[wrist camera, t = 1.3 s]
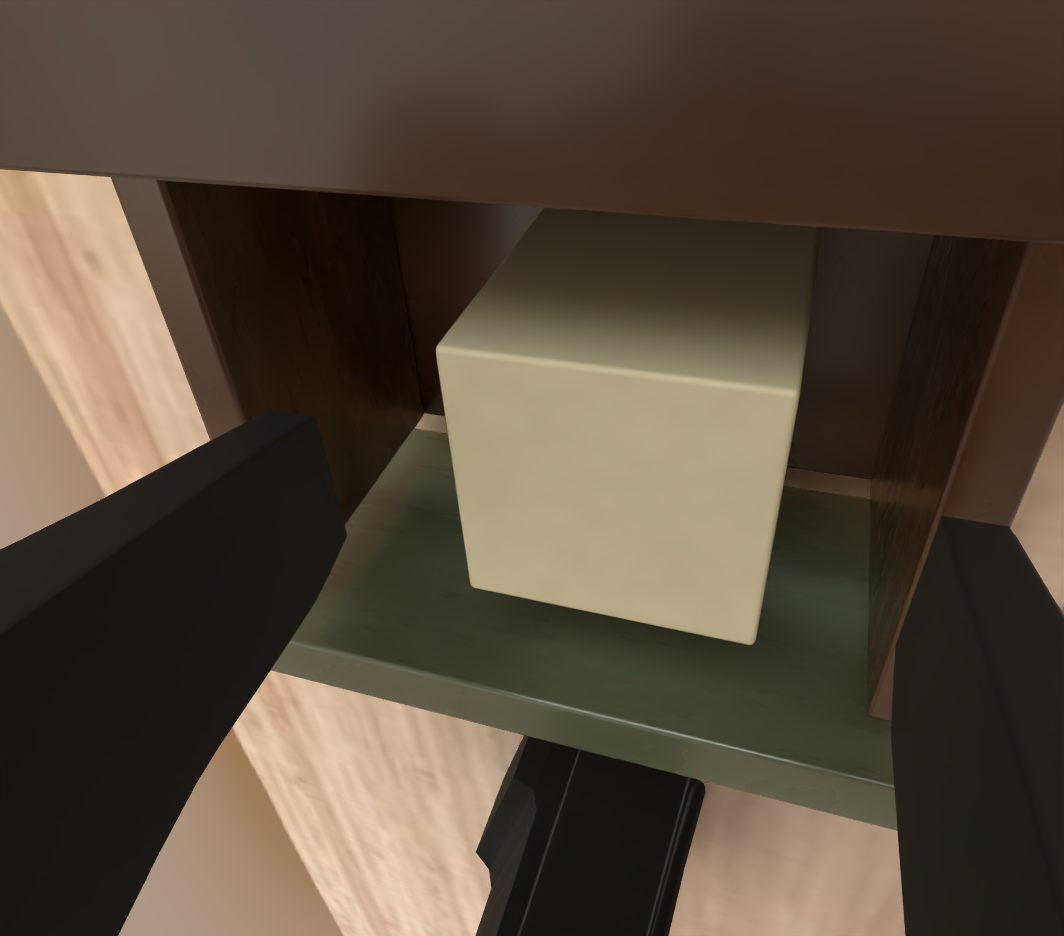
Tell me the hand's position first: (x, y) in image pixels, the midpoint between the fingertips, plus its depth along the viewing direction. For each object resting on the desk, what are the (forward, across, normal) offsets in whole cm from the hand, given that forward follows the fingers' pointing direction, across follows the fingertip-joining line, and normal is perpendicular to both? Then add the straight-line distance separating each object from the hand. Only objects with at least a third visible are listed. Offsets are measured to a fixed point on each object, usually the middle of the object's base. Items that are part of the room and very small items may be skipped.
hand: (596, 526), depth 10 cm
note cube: (+7, 0, +1) cm, 7 cm away
